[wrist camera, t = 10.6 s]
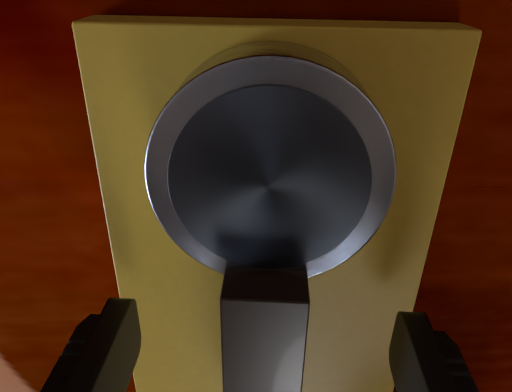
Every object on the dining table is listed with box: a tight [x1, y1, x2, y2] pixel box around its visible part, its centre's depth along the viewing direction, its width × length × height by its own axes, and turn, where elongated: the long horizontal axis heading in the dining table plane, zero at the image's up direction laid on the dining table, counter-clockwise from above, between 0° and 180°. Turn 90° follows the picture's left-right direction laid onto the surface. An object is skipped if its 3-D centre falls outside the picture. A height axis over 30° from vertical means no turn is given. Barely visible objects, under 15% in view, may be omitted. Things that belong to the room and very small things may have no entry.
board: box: [72, 15, 482, 392], centre depth 15 cm, size 16×10×2 cm, turn 179°
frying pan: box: [144, 40, 397, 392], centre depth 13 cm, size 14×6×3 cm, turn 179°
